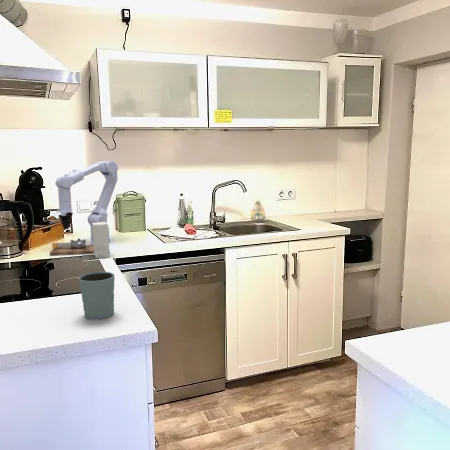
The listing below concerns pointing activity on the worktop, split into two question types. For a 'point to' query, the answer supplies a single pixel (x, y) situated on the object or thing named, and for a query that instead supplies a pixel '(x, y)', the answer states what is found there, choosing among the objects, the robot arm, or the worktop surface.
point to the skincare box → (100, 240)
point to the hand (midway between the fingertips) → (66, 228)
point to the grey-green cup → (97, 294)
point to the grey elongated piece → (71, 244)
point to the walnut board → (72, 251)
